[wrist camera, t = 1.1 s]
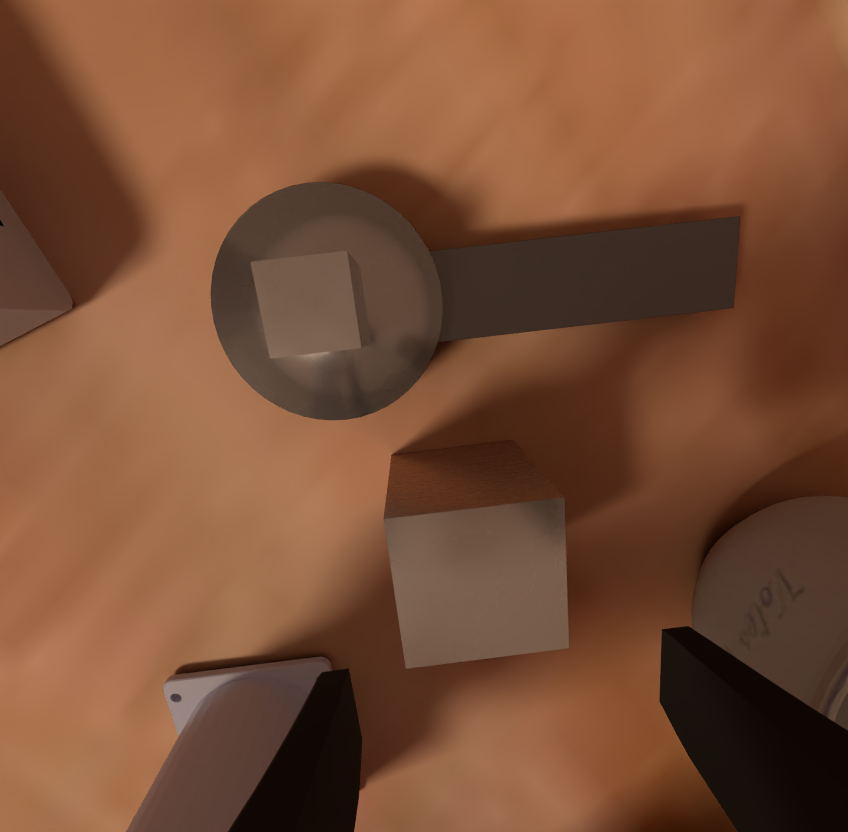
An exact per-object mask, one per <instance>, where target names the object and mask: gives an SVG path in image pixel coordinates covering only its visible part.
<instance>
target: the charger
mask: <svg viewBox="0 0 848 832" xmlns="http://www.w3.org/2000/svg"><path fill="white" fill-rule="evenodd" d="M0 220H1V222H2V223H3V225H4V226H0V346H2V345H3V344H5V343H7V342H9V341H11V340H13V339H15V338H17V337H19V336H21V335H23V334H25V333H26V332H28V331H30V330H32V329H34V328H36V327H38V326H40V325H42V324H44V323H46V322H48V321H49V320H51V319H53V318H55V317H57V316H59V315H61V314H63V313H65V312H67V311H69V310H70V309H72V305H73V301H72V297H71V295H70V294H69V292H68V291H67V289H66V288H65V286H64V285H63V283H62V282H61V280H60V279H59V277H58V275H57V274H56V272H55V271H54V269H53V268H52V266H51V265H50V263H49V262H48V260H47V259H46V257H45V256H44V254H43V253H42V251H41V250H40V248H39V247H38V245H37V244H36V242H35V241H34V239H33V238H32V236H31V235H30V233H29V232H28V230H27V229H26V227H25V226H24V224H23V223H22V221H21V220H20V218H19V217H18V215H17V214H16V212H15V211H14V209H13V208H12V206H11V205H10V203H9V202H8V200H7V199H6V197H5V196H4V194H3V193H2V191H1V190H0Z"/></svg>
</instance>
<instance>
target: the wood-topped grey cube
mask: <svg viewBox="0 0 848 832" xmlns="http://www.w3.org/2000/svg"><path fill="white" fill-rule="evenodd" d="M384 526H385V533H386V539H387V546H388V553H389V560H390V566H391V573H392V580H393V586H394V593H395V600H396V607H397V613H398V620H399V627H400V634H401V640H402V647H403V654H404V661H405V667H406V669H409V668H417V667H425V666H433V665H441V664H448V663H456V662H464V661H472V660H480V659H488V658H496V657H504V656H512V655H520V654H528V653H536V652H544V651H552V650H560V649H568V648H569V630H568V598H567V565H566V533H565V500H564V496H563V495H562V494H561V493H560V492H559V491H558V490H557V489H556V487H555V486H554V485H553V484H552V483H551V482H550V481H549V480H548V478H547V477H546V476H545V475H544V474H543V473H542V472H541V471H540V469H539V468H538V467H537V466H536V465H535V464H534V463H533V462H532V461H531V459H530V458H529V457H528V456H527V455H526V454H525V453H524V452H523V450H522V449H521V448H520V447H519V446H518V445H517V444H516V443H515V441H506V442H498V443H490V444H481V445H473V446H464V447H456V448H448V449H439V450H431V451H422V452H414V453H405V454H397V455H391V462H390V471H389V479H388V487H387V495H386V503H385V511H384Z"/></svg>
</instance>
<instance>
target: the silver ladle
mask: <svg viewBox="0 0 848 832" xmlns="http://www.w3.org/2000/svg"><path fill="white" fill-rule="evenodd" d="M739 226H740V216H737V217H729V218H720V219H711V220H702V221H693V222H684V223H675V224H667V225H658V226H649V227H640V228H631V229H622V230H613V231H605V232H596V233H587V234H578V235H569V236H560V237H551V238H543V239H534V240H525V241H516V242H507V243H498V244H490V245H481V246H472V247H463V248H454V249H445V250H436V251H429V250H428V249H427V247H426V245H425V243H424V242H423V240H422V238H421V237H420V235H419V234H418V233H417V232H416V230H415V229H414V228H413V226H412V225H411V224H410V223H409V222H408V221H407V220H406V219H405V218H404V217H403V216H402V215H401V214H400V213H399V212H398V211H397V210H395V209H394V208H393V207H391V206H390V205H389V204H387V203H386V202H384V201H383V200H381V199H379V198H377V197H376V196H374V195H372V194H370V193H368V192H365V191H363V190H360V189H358V188H355V187H351V186H347V185H343V184H337V183H328V182H313V183H304V184H298V185H293V186H289V187H287V188H284V189H281V190H278V191H276V192H274V193H272V194H270V195H268V196H266V197H264V198H262V199H261V200H260V201H258V202H257V203H255V204H254V205H253V206H251V207H250V208H249V209H248V210H247V211H246V212H245V213H244V214H243V215H242V216H241V217H240V218H239V219H238V220H237V221H236V223H235V224H234V225H233V227H232V228H231V229H230V231H229V232H228V234H227V236H226V238H225V239H224V241H223V243H222V245H221V248H220V250H219V253H218V255H217V258H216V261H215V265H214V270H213V274H212V283H211V307H212V314H213V320H214V324H215V327H216V331H217V334H218V337H219V340H220V342H221V344H222V347H223V349H224V351H225V353H226V355H227V356H228V358H229V360H230V361H231V363H232V365H233V366H234V368H235V369H236V370H237V371H238V373H239V374H240V375H241V377H242V378H243V379H244V380H245V381H246V382H247V383H248V384H249V385H250V386H251V387H252V388H253V389H254V390H255V391H257V392H258V393H259V394H260V395H262V396H263V397H264V398H266V399H267V400H269V401H270V402H272V403H274V404H275V405H277V406H279V407H281V408H283V409H285V410H287V411H289V412H292V413H295V414H298V415H301V416H304V417H309V418H315V419H322V420H346V419H352V418H357V417H362V416H365V415H368V414H371V413H374V412H376V411H378V410H380V409H382V408H385V407H387V406H388V405H390V404H391V403H393V402H394V401H396V400H397V399H399V398H400V397H401V396H402V395H404V394H405V393H406V392H407V391H408V390H409V389H410V388H411V387H412V386H413V385H414V384H415V383H416V382H417V380H418V379H419V378H420V376H421V375H422V373H423V372H424V371H425V369H426V368H427V366H428V364H429V362H430V360H431V358H432V356H433V354H434V351H435V348H436V345H437V343H438V342H444V341H453V340H461V339H470V338H478V337H487V336H496V335H504V334H513V333H522V332H530V331H539V330H547V329H556V328H565V327H573V326H582V325H591V324H599V323H608V322H616V321H625V320H634V319H642V318H651V317H660V316H668V315H677V314H685V313H694V312H703V311H711V310H720V309H729V308H734V296H735V282H736V268H737V254H738V240H739Z"/></svg>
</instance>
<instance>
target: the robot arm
mask: <svg viewBox="0 0 848 832" xmlns="http://www.w3.org/2000/svg"><path fill="white" fill-rule="evenodd" d="M163 690H164V693H165V696H166V699H167V703H168V706H169V709H170V712H171V715H172V718H173V721H174V724H175V727H176V730H177V733H178V736H179V737H178V739H177V740H176V742H175V744H174V746H173V748H172V749H171V751H170V753H169V755H168V757H167V758H166V760H165V762H164V764H163V766H162V768H161V769H160V771H159V773H158V775H157V777H156V778H155V780H154V782H153V784H152V786H151V787H150V789H149V791H148V793H147V795H146V796H145V798H144V800H143V802H142V804H141V806H140V807H139V809H138V811H137V813H136V815H135V816H134V818H133V820H132V822H131V824H130V825H129V827H128V829H127V831H126V832H354V828H355V821H356V814H357V807H358V799H359V785H360V770H361V751H362V736H361V731H360V725H359V720H358V715H357V710H356V704H355V699H354V694H353V689H352V683H351V678H350V673H349V669H343V670H335V671H332V667H331V663H330V661H329V660H328V659H327V658H325V657H313V658H305V659H297V660H289V661H281V662H273V663H265V664H257V665H249V666H241V667H233V668H225V669H217V670H209V671H201V672H193V673H185V674H177V675H172V676H170V677H169V678H168V679H167V681H166V682H165V684H164V686H163ZM660 703H661V705H662V707H663V709H664V711H665V713H666V715H667V717H668V718H669V720H670V722H671V724H672V726H673V728H674V730H675V732H676V734H677V736H678V737H679V739H680V741H681V743H682V745H683V747H684V748H685V750H686V752H687V754H688V756H689V757H690V759H691V760H692V762H693V763H694V765H695V767H696V768H697V770H698V771H699V773H700V774H701V776H702V777H703V779H704V780H705V782H706V784H707V785H708V787H709V788H710V790H711V791H712V793H713V794H714V796H715V797H716V799H717V800H718V802H719V803H720V805H721V806H722V808H723V810H724V811H725V813H726V814H727V816H728V817H729V819H730V820H731V822H732V823H733V825H734V826H735V828H736V829H737V831H738V832H848V730H846V729H845V728H843V727H842V726H840V725H838V724H837V723H835V722H834V721H832V720H830V719H829V718H827V717H826V716H824V715H822V714H821V713H819V712H818V711H816V710H815V709H813V708H812V707H810V706H808V705H807V704H805V703H804V702H802V701H801V700H799V699H798V698H796V697H795V696H793V695H792V694H790V693H788V692H787V691H785V690H784V689H782V688H781V687H779V686H778V685H776V684H775V683H773V682H772V681H770V680H769V679H767V678H766V677H764V676H763V675H761V674H760V673H758V672H757V671H755V670H754V669H752V668H751V667H749V666H748V665H746V664H745V663H743V662H742V661H740V660H739V659H737V658H736V657H734V656H733V655H731V654H730V653H728V652H727V651H725V650H724V649H722V648H721V647H720V646H718V645H717V644H715V643H714V642H712V641H711V640H709V639H708V638H706V637H704V636H703V635H701V634H700V633H698V632H697V631H695V630H694V629H692V628H691V627H689V626H686V627H678V628H670V629H662V646H661V675H660Z"/></svg>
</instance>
